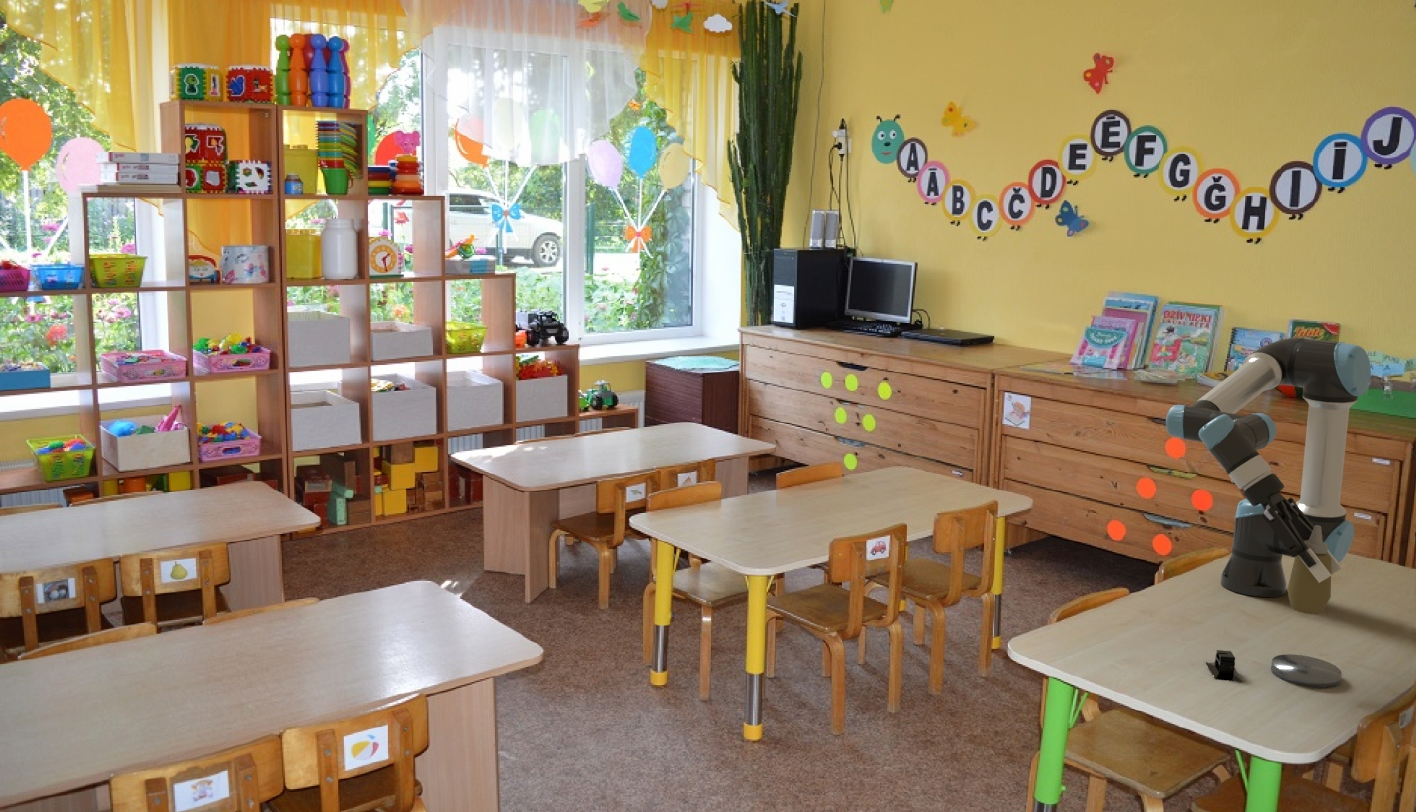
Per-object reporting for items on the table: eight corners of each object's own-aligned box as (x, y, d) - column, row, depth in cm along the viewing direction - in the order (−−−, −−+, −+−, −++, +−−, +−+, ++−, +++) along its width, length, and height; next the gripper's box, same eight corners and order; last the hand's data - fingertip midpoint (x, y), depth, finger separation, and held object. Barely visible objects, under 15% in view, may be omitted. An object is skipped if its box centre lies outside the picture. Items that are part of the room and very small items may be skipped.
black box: (1199, 661, 258) (1201, 641, 257) (1235, 664, 257) (1238, 644, 256) (1212, 684, 246) (1214, 663, 245) (1250, 688, 245) (1252, 667, 244)
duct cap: (1289, 658, 260) (1291, 649, 259) (1351, 679, 250) (1353, 670, 249) (1258, 672, 252) (1260, 662, 251) (1321, 693, 242) (1322, 684, 241)
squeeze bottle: (1319, 605, 252) (1330, 521, 249) (1334, 618, 244) (1346, 533, 241) (1279, 602, 253) (1289, 519, 250) (1292, 615, 245) (1304, 530, 242)
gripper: (1258, 484, 262) (1329, 574, 254) (1225, 499, 248) (1299, 595, 240) (1287, 465, 257) (1360, 556, 250) (1255, 479, 243) (1331, 576, 235)
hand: (1330, 575), depth 245 cm, fingers closed on squeeze bottle, 6 cm apart
